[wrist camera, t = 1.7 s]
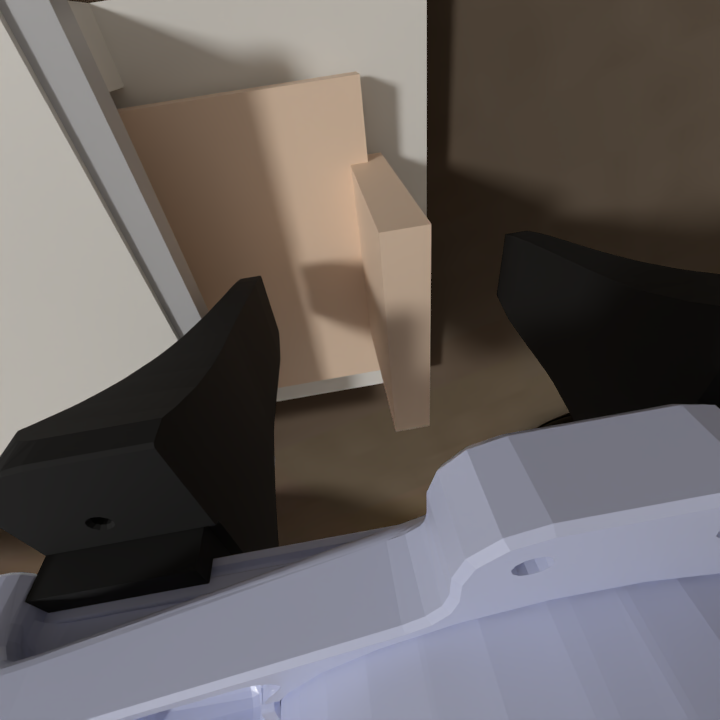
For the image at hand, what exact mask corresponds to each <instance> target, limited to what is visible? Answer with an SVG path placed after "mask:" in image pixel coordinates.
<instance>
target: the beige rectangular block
mask: <svg viewBox="0 0 720 720" xmlns="http://www.w3.org/2000/svg"><path fill="white" fill-rule="evenodd" d="M117 111H118V113H119V115H120V117H121V119H122V122H123V124H124V126H125V128H126V130H127V133H128V135H129V137H130V139H131V141H132V144H133V146H134V148H135V150H136V152H137V155H138V157H139V159H140V161H141V163H142V166H143V168H144V170H145V172H146V174H147V177H148V179H149V181H150V183H151V185H152V188H153V190H154V192H155V194H156V196H157V198H158V201H159V203H160V205H161V207H162V209H163V212H164V214H165V216H166V218H167V220H168V223H169V225H170V227H171V229H172V231H173V234H174V236H175V238H176V240H177V242H178V245H179V247H180V249H181V251H182V253H183V256H184V258H185V260H186V262H187V264H188V267H189V269H190V271H191V273H192V275H193V278H194V280H195V282H196V284H197V286H198V289H199V291H200V293H201V295H202V297H203V300H204V302H205V304H206V306H207V308H208V311H210V310H211V309H212V308H213V307H214V306H215V304H216V303H217V302H218V301H219V300H220V299H221V298H222V297H223V296H224V295H225V294H226V293H227V291H228V290H229V289H230V288H231V287H232V286H233V285H234V284H235V283H236V282H237V281H238V280H239V279H243V278H249V277H255V276H261V277H262V280H263V283H264V286H265V290H266V293H267V296H268V299H269V302H270V305H271V308H272V311H273V314H274V317H275V321H276V324H277V327H278V330H279V338H280V370H279V380H278V388H281V387H286V386H292V385H298V384H304V383H309V382H315V381H321V380H326V379H332V378H338V377H344V376H349V375H355V374H361V373H367V372H372V371H378V370H380V371H381V375H382V379H383V383H384V387H385V391H386V395H387V399H388V403H389V407H390V411H391V415H392V419H393V423H394V427H395V431H396V432H398V431H403V430H409V429H414V428H420V427H426V426H430V325H431V223H430V221H429V220H428V219H427V217H426V216H425V214H424V213H423V212H422V210H421V209H420V207H419V206H418V204H417V203H416V202H415V200H414V199H413V197H412V196H411V195H410V193H409V192H408V190H407V189H406V187H405V186H404V185H403V183H402V182H401V180H400V179H399V178H398V176H397V175H396V173H395V172H394V170H393V169H392V168H391V166H390V165H389V163H388V162H387V161H386V159H385V158H384V156H383V155H382V153H381V152H380V153H373V154H367V146H366V135H365V125H364V114H363V103H362V92H361V82H360V74H359V73H358V72H356V71H355V72H349V73H342V74H336V75H330V76H323V77H317V78H311V79H304V80H298V81H292V82H285V83H279V84H273V85H266V86H260V87H253V88H247V89H241V90H234V91H228V92H222V93H215V94H209V95H203V96H196V97H190V98H184V99H177V100H171V101H165V102H158V103H152V104H146V105H139V106H133V107H127V108H120V109H117Z"/></svg>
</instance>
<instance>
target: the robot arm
mask: <svg viewBox="0 0 720 720" xmlns="http://www.w3.org/2000/svg"><path fill="white" fill-rule="evenodd" d="M497 296H498V298H499V300H500V303H501V305H502V307H503V309H504V311H505V313H506V315H507V317H508V319H509V320H510V322H511V323H512V325H513V326H514V328H515V329H516V330H517V332H518V333H519V335H520V336H521V338H522V339H523V340H524V342H525V343H526V344H527V346H528V347H529V349H530V350H531V351H532V353H533V354H534V355H535V357H536V358H537V359H538V361H539V362H540V364H541V365H542V366H543V368H544V369H545V371H546V372H547V374H548V375H549V377H550V378H551V380H552V381H553V383H554V385H555V386H556V388H557V390H558V392H559V394H560V395H561V397H562V399H563V401H564V403H565V405H566V406H567V408H568V410H569V412H570V414H571V416H572V418H573V420H574V422H569V423H564V424H558V425H553V426H547V427H542V428H536V429H530V430H525V431H519V432H514V433H508V434H503V435H500V436H497V437H494V438H491V439H488V440H485V441H482V442H479V443H476V444H473V445H470V446H467V447H466V448H464V449H463V450H462V451H460V452H459V453H457V454H456V455H455V456H453V457H452V458H451V459H449V460H448V461H447V462H445V463H444V464H442V465H441V466H440V468H439V469H438V470H437V472H436V474H435V476H434V478H433V480H432V483H431V485H430V487H429V489H428V491H427V513H426V515H424V516H421V517H418V518H416V519H413V520H410V521H407V522H405V523H402V524H399V525H394V526H389V527H384V528H378V529H373V530H367V531H362V532H356V533H351V534H345V535H340V536H334V537H329V538H324V539H318V540H313V541H307V542H302V543H296V544H291V545H285V546H280V547H279V544H278V530H277V512H276V494H275V466H274V420H275V409H276V400H277V390H278V380H279V370H280V338H279V330H278V327H277V324H276V321H275V317H274V314H273V311H272V308H271V305H270V302H269V299H268V296H267V293H266V290H265V286H264V283H263V280H262V277H261V276H255V277H249V278H243V279H239V280H238V281H237V282H236V283H235V284H234V285H233V286H232V287H231V288H230V289H229V290H228V291H227V293H226V294H225V295H224V296H223V297H222V298H221V299H220V300H219V301H218V302H217V303H216V304H215V306H214V307H213V308H212V309H211V310H210V311H209V312H208V313H207V314H206V315H205V316H204V317H203V318H202V319H201V320H200V321H199V322H198V323H197V324H196V325H195V326H194V327H192V328H191V329H190V330H189V331H188V332H187V333H186V334H185V335H184V336H183V337H182V338H180V339H179V340H178V341H177V342H176V343H174V344H173V345H172V346H171V347H169V348H168V349H167V350H165V351H164V352H163V353H162V354H160V355H159V356H158V357H156V358H155V359H153V360H152V361H150V362H149V363H147V364H146V365H144V366H143V367H141V368H140V369H138V370H136V371H135V372H133V373H132V374H130V375H129V376H127V377H126V378H124V379H123V380H121V381H119V382H117V383H116V384H114V385H112V386H110V387H109V388H107V389H105V390H103V391H101V392H100V393H98V394H96V395H94V396H92V397H90V398H88V399H86V400H84V401H82V402H80V403H78V404H76V405H74V406H72V407H70V408H68V409H66V410H64V411H61V412H59V413H57V414H55V415H52V416H50V417H48V418H46V419H44V420H41V421H39V422H37V423H35V424H33V425H30V426H28V427H26V428H23V429H21V430H18V431H17V432H16V434H15V435H14V437H13V438H12V440H11V441H10V443H9V444H8V446H7V447H6V448H5V450H4V451H3V453H2V454H1V456H0V528H1V529H3V530H5V531H6V532H8V533H10V534H11V535H13V536H14V537H16V538H18V539H19V540H21V541H23V542H24V543H26V544H27V545H29V546H31V547H32V548H34V549H36V550H37V551H39V552H41V553H42V554H44V555H45V556H46V557H45V559H44V561H43V564H42V566H41V568H40V570H39V572H38V574H34V573H25V572H18V573H8V574H3V575H0V720H720V274H713V273H704V272H696V271H689V270H682V269H676V268H671V267H665V266H660V265H654V264H649V263H644V262H640V261H635V260H631V259H627V258H623V257H620V256H616V255H612V254H608V253H604V252H601V251H597V250H594V249H591V248H587V247H584V246H581V245H578V244H574V243H571V242H568V241H565V240H561V239H558V238H555V237H551V236H548V235H544V234H540V233H536V232H530V231H522V232H516V233H511V234H505V241H504V248H503V255H502V262H501V269H500V276H499V283H498V290H497Z"/></svg>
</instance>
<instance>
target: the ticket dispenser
mask: <svg viewBox="0 0 720 720" xmlns="http://www.w3.org/2000/svg"><path fill="white" fill-rule="evenodd" d="M355 71H356V72H358V73H359V74H360V82H361V92H362V103H363V114H364V125H365V135H366V146H367V154H373V153H380V152H381V153H382V155H383V156H384V158H385V159H386V161H387V162H388V163H389V165H390V166H391V168H392V169H393V170H394V172H395V173H396V175H397V176H398V178H399V179H400V180H401V182H402V183H403V185H404V186H405V187H406V189H407V190H408V192H409V193H410V195H411V196H412V197H413V199H414V200H415V202H416V203H417V204H418V206H419V207H420V209H421V210H422V212H423V213H424V214H425V216H426V217H427V0H106V1H100V2H93V3H83V2H76V1H68V0H0V456H1V454H2V453H3V451H4V450H5V448H6V447H7V446H8V444H9V443H10V441H11V440H12V438H13V437H14V435H15V434H16V432H17V431H18V430H21V429H23V428H26V427H28V426H30V425H33V424H35V423H37V422H39V421H41V420H44V419H46V418H48V417H50V416H52V415H55V414H57V413H59V412H61V411H64V410H66V409H68V408H70V407H72V406H74V405H76V404H78V403H80V402H82V401H84V400H86V399H88V398H90V397H92V396H94V395H96V394H98V393H100V392H101V391H103V390H105V389H107V388H109V387H110V386H112V385H114V384H116V383H117V382H119V381H121V380H123V379H124V378H126V377H127V376H129V375H130V374H132V373H133V372H135V371H136V370H138V369H140V368H141V367H143V366H144V365H146V364H147V363H149V362H150V361H152V360H153V359H155V358H156V357H158V356H159V355H160V354H162V353H163V352H164V351H165V350H167V349H168V348H169V347H171V346H172V345H173V344H174V343H176V342H177V341H178V340H179V339H180V338H182V337H183V336H184V335H185V334H186V333H187V332H188V331H189V330H190V329H191V328H192V327H194V326H195V325H196V324H197V323H198V322H199V321H200V320H201V319H202V318H203V317H204V316H205V315H206V314H207V313H208V312H209V311H208V308H207V306H206V304H205V302H204V300H203V297H202V295H201V293H200V291H199V289H198V286H197V284H196V282H195V280H194V278H193V275H192V273H191V271H190V269H189V267H188V264H187V262H186V260H185V258H184V256H183V253H182V251H181V249H180V247H179V245H178V242H177V240H176V238H175V236H174V234H173V231H172V229H171V227H170V225H169V223H168V220H167V218H166V216H165V214H164V212H163V209H162V207H161V205H160V203H159V201H158V198H157V196H156V194H155V192H154V190H153V188H152V185H151V183H150V181H149V179H148V177H147V174H146V172H145V170H144V168H143V166H142V163H141V161H140V159H139V157H138V155H137V152H136V150H135V148H134V146H133V144H132V141H131V139H130V137H129V135H128V133H127V130H126V128H125V126H124V124H123V122H122V119H121V117H120V115H119V113H118V111H117V109H120V108H127V107H133V106H139V105H146V104H152V103H158V102H165V101H171V100H177V99H184V98H190V97H196V96H203V95H209V94H215V93H222V92H228V91H234V90H241V89H247V88H253V87H260V86H266V85H273V84H279V83H285V82H292V81H298V80H304V79H311V78H317V77H323V76H330V75H336V74H342V73H349V72H355ZM380 383H383V379H382V375H381V371H380V370H378V371H372V372H367V373H361V374H355V375H349V376H344V377H338V378H332V379H326V380H321V381H315V382H309V383H304V384H298V385H292V386H286V387H281V388H278V390H277V400H276V402H278V401H284V400H289V399H295V398H301V397H306V396H312V395H318V394H323V393H329V392H335V391H341V390H346V389H352V388H358V387H363V386H369V385H375V384H380ZM274 466H275V456H274Z"/></svg>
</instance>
